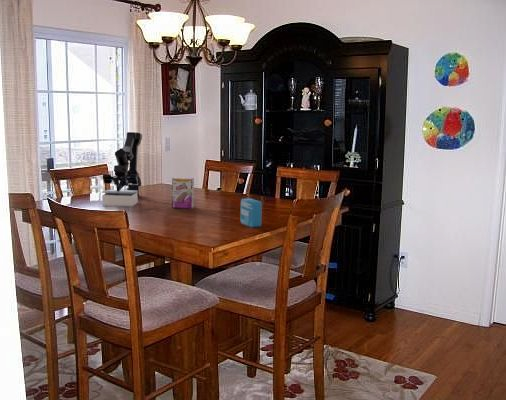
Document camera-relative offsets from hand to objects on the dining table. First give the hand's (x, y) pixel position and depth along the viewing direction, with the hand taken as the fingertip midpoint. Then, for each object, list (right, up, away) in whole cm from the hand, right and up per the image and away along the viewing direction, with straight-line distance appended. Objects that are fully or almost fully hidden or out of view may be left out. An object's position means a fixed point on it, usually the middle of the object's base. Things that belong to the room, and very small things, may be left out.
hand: (117, 191), depth 289 cm
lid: (0, -1, +5) cm, 5 cm away
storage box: (0, -7, +6) cm, 9 cm away
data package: (+73, -17, -40) cm, 85 cm away
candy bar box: (+36, -9, 0) cm, 37 cm away
